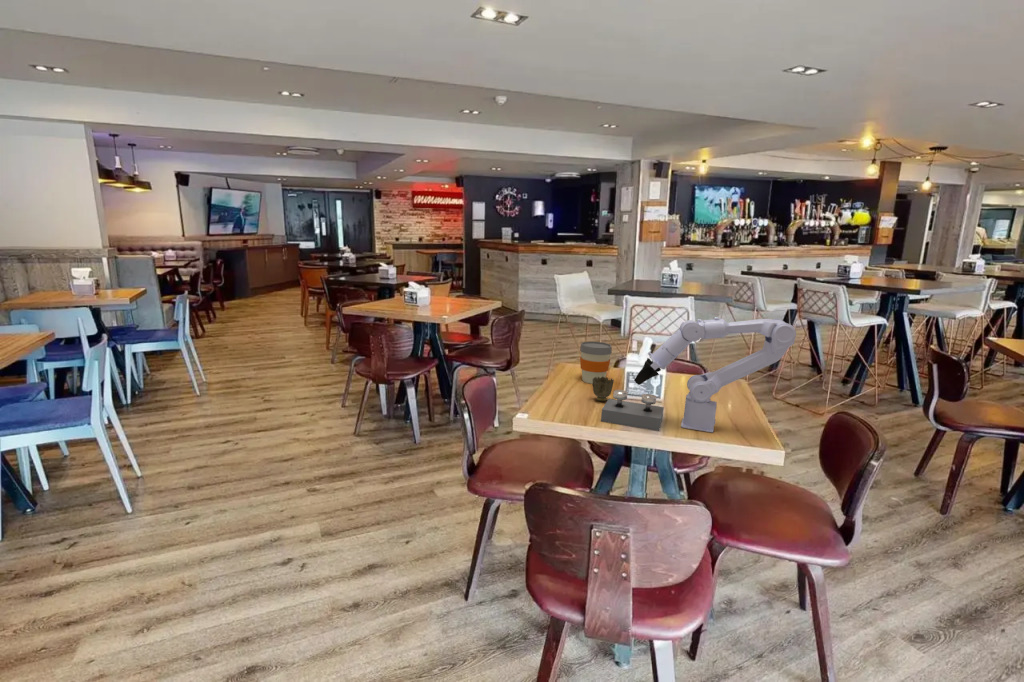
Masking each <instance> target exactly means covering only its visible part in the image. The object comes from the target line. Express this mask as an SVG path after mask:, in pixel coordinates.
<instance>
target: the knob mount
mask: <svg viewBox="0 0 1024 682" xmlns="http://www.w3.org/2000/svg"><path fill="white" fill-rule="evenodd" d="M645 407H646V404H645V403H638V402H633V401H627V400H622V406H617V399H615V398H607V400H606V401H605V404H604V405H603V407H602V409H601V417H600V422H604V423H609V424H614V425H619V426H620V425H621V426H627V427H633V428H638V429H643V430H650V431H657V432H660V430H661V426H662V423H663V419H664V409H665V407H664V406H661V405H660V406H658V405H654V404H651V409H650V411H647V410H645Z"/></svg>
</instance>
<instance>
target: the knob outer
mask: <svg viewBox="0 0 1024 682" xmlns="http://www.w3.org/2000/svg"><path fill="white" fill-rule="evenodd" d="M628 393H629V392H628V391H627V390H623V389H615V390H613V395H612V396H613V397H612V399H614V400H617V406H622V401H627V399H628Z"/></svg>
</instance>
